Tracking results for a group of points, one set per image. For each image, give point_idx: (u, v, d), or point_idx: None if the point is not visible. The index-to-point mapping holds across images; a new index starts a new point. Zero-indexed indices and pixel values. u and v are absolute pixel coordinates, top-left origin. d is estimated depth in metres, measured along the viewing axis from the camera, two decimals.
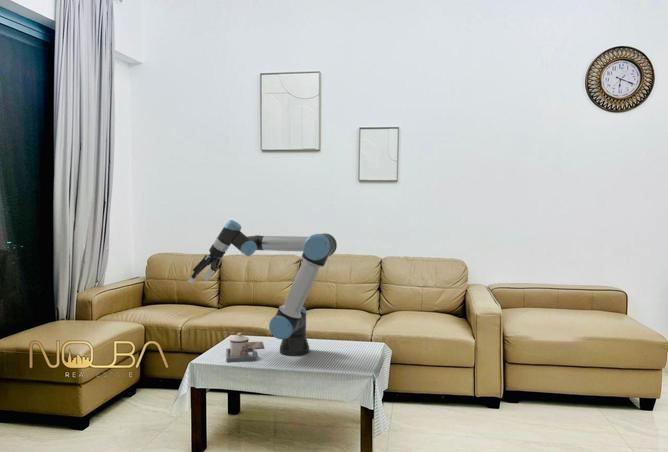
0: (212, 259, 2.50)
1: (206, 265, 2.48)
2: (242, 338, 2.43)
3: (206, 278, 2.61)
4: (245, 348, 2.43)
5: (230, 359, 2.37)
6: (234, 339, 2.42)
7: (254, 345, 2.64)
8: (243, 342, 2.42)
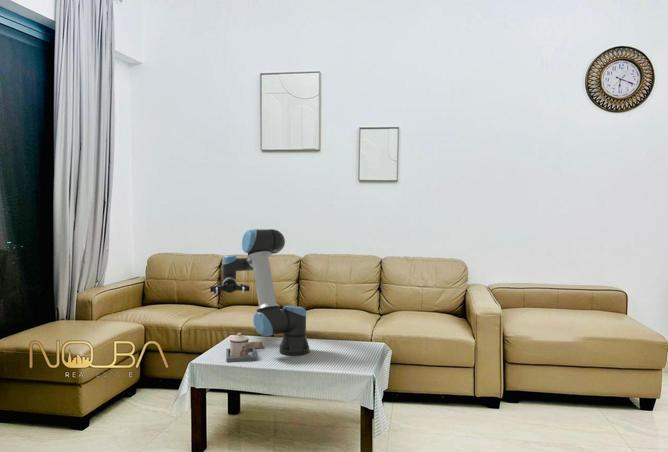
0: None
1: None
2: (242, 338, 2.43)
3: (242, 289, 2.61)
4: (245, 348, 2.43)
5: (230, 359, 2.37)
6: (234, 339, 2.42)
7: (254, 345, 2.64)
8: (243, 342, 2.42)
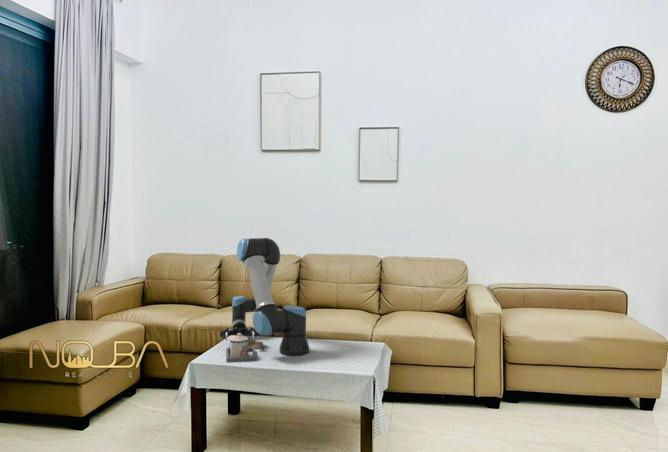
0: None
1: (231, 330, 2.65)
2: (242, 338, 2.43)
3: (252, 334, 2.58)
4: (245, 348, 2.43)
5: (230, 359, 2.37)
6: (234, 339, 2.42)
7: (254, 345, 2.64)
8: (243, 342, 2.42)
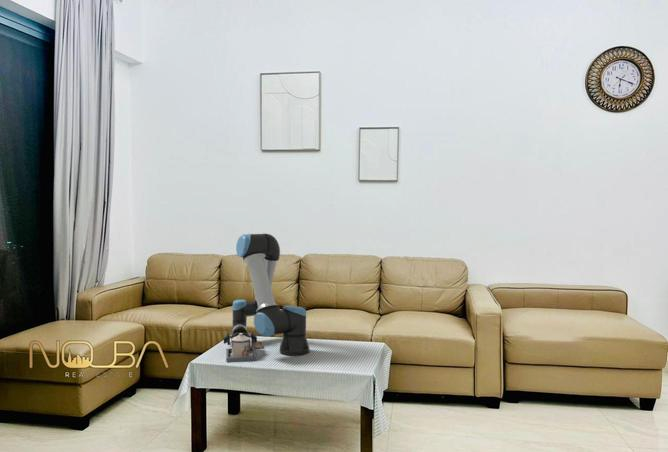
0: None
1: (233, 335, 2.53)
2: (244, 338, 2.43)
3: None
4: (247, 348, 2.43)
5: (230, 359, 2.37)
6: (236, 339, 2.42)
7: (254, 345, 2.64)
8: (245, 342, 2.42)
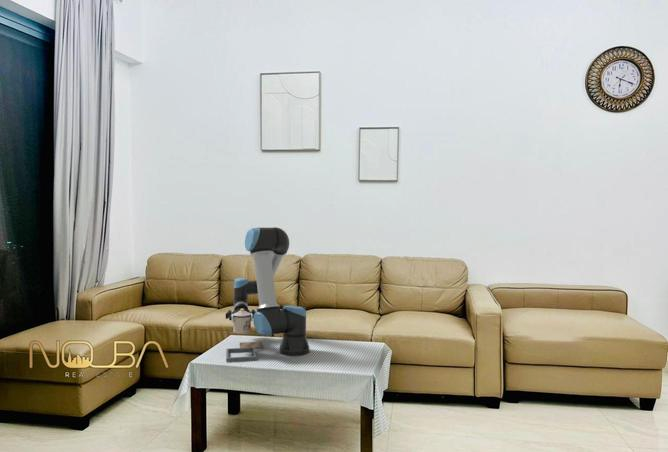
0: None
1: (234, 311, 2.59)
2: (245, 313, 2.48)
3: (251, 316, 2.50)
4: (248, 323, 2.48)
5: (230, 359, 2.37)
6: (237, 314, 2.47)
7: (254, 345, 2.64)
8: (246, 317, 2.47)
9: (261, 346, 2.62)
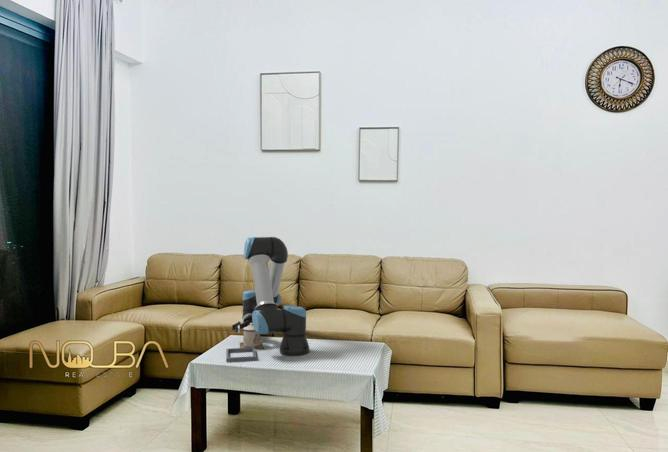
0: None
1: (242, 323, 2.72)
2: None
3: None
4: (257, 336, 2.62)
5: (230, 359, 2.37)
6: (247, 328, 2.61)
7: None
8: None
9: (261, 346, 2.62)
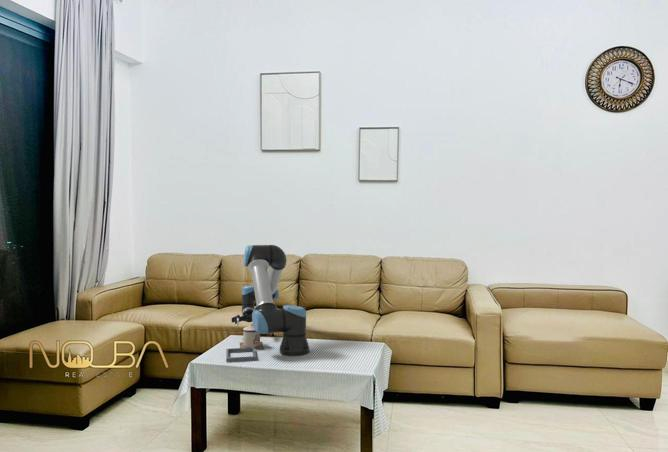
0: None
1: (241, 316, 2.85)
2: None
3: None
4: (257, 337, 2.62)
5: (230, 359, 2.37)
6: (247, 329, 2.61)
7: None
8: None
9: (261, 346, 2.62)
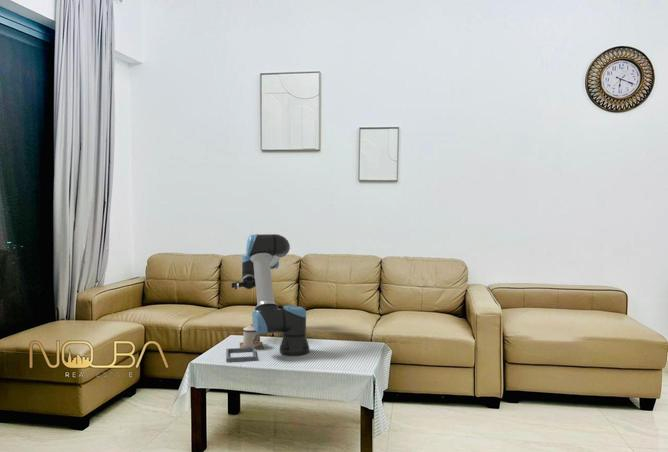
0: None
1: (241, 282, 2.84)
2: None
3: None
4: (257, 337, 2.62)
5: (230, 359, 2.37)
6: (247, 329, 2.61)
7: None
8: None
9: (261, 346, 2.62)
